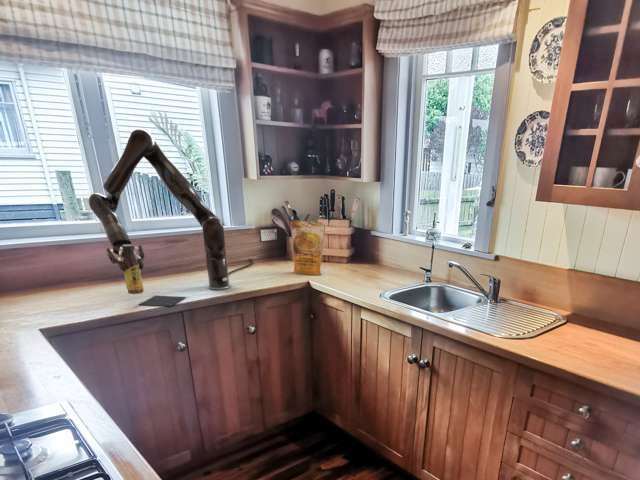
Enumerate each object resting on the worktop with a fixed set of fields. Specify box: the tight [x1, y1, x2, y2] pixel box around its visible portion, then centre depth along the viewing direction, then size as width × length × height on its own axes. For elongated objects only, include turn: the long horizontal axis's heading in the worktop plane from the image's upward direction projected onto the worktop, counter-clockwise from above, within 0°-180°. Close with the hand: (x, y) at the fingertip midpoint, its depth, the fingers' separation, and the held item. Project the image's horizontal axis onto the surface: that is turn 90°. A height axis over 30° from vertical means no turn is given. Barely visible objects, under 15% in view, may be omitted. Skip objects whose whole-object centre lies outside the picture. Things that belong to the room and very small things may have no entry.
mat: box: [139, 295, 186, 308], centre depth 203 cm, size 14×14×1 cm
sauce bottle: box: [122, 244, 144, 295], centre depth 194 cm, size 7×6×20 cm
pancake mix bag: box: [289, 219, 326, 276], centre depth 255 cm, size 7×19×28 cm, turn 74°
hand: (133, 269), depth 193 cm, fingers closed on sauce bottle, 6 cm apart
